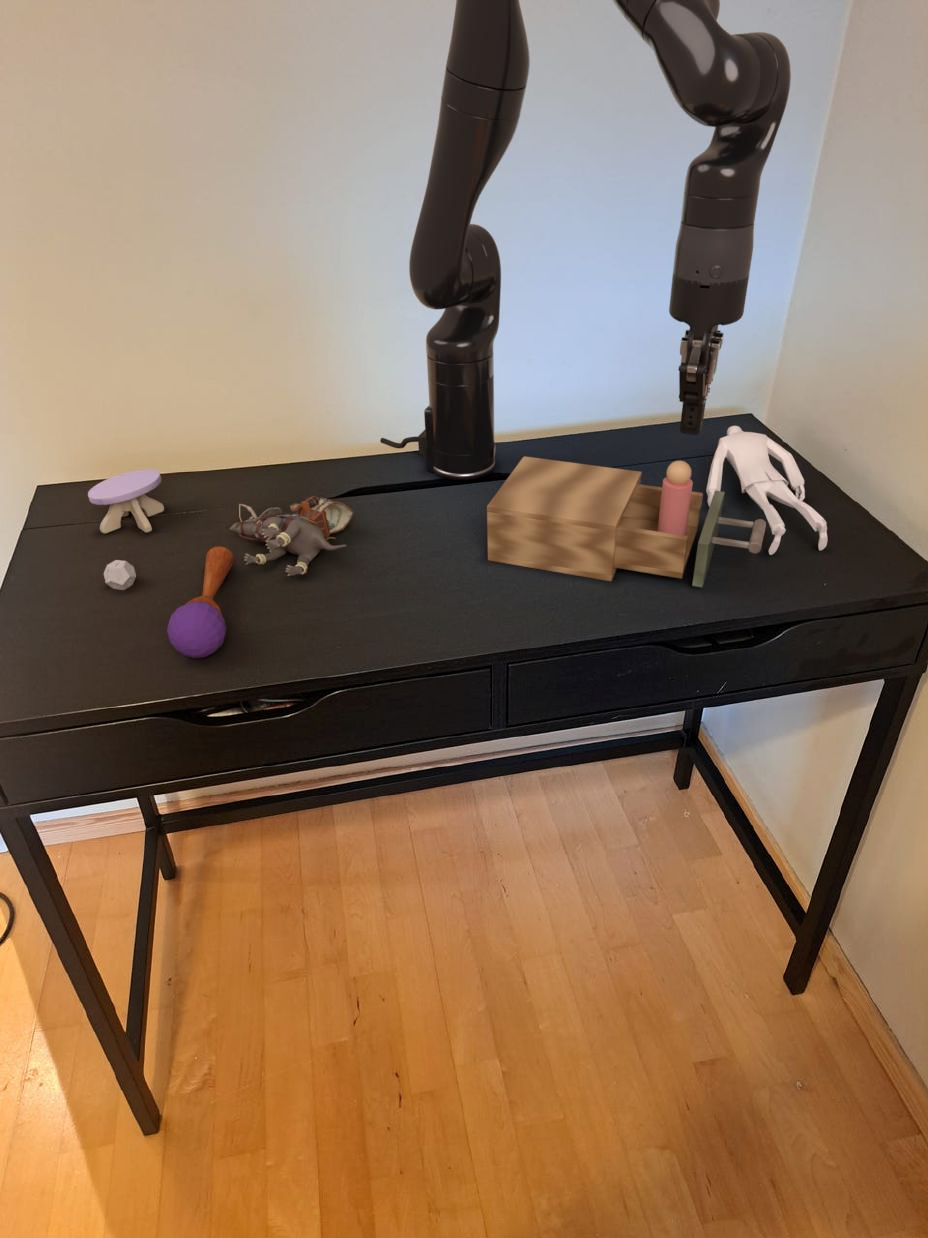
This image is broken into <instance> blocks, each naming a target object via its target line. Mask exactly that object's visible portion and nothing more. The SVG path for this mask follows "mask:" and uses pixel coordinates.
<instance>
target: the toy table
mask: <svg viewBox="0 0 928 1238" xmlns="http://www.w3.org/2000/svg"><path fill="white" fill-rule="evenodd" d="M161 483H162V475H161V472H160V471H159V470H157V469H151V468H150V469H149V468H145V469H135V470H131V471H127V472H123V473H119V474H116V475H114V476H111V477H109V478H107V479H104V480H102V481H100V482H98V483H97V484H95V485H94V486H92V487H91V488H90V489H89V490H88V492H87V497H88V500H89V502H90V503H91V504H93V505H97V506H106V505H109V507H108V511H107V513H106V514H105V516H104V517H103V519H102V520H101V522H100V525H99V530H100V532H101V533H102V534H108V533H110V532H113V531H116V530H118V529H121V527H122V524H121V522H122V518H125V517H128V516H129V515H130V513H131V514H132V516H133V518H134V520H135V522H136V525H137V528H138V529H140V530H141V531H142V532H144V533H151V532H152V531H153V527H152V525H151V523H150V521H149V519H148V517H152V516H155V515H158V514H160V513H163V512H164V511H165V507H164V504H163V503H162V502H160V501H158V500H156V499H154V498H152V497H149V496H148V495H147V493H150V492H151V491H153V490H154V489H155V488H157V487H158V486H159V485H161ZM129 512H130V513H129Z"/></svg>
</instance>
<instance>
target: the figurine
mask: <svg viewBox="0 0 928 1238" xmlns="http://www.w3.org/2000/svg"><path fill="white" fill-rule="evenodd" d="M241 507H244V508H245V509H247V511H248V512H250V514H251V516H249V518H248V519H246V520H242V518H241ZM289 509H290V512H283V510H282V509H281V508H280V507H270V508H267V509H266V510H264V511H263V512H262V513H261V514H260V515H259V516H258V515H257V514H256V512H255V511H254V509H253V508H252V506H249V505H247V504H245V503H244V504H243V503H238V511H239V513H238V515H239V520H240V521H239V522H235V523H233V524H232V525H231V526H230V528H229V531H232V532H234V533H237V535H239V536H240V537H242V538H243V539H247V540H253V541H261V542H263V543H264V542H265V543H266V544H265V546H266V549H268V553H265V554H263V553H257V554H256V555H255V556H253V555H250V554H249V553H244V554H245V556H243V558H244V559H243V561H245V562H246V563H245V565H253V564H257V565H264V564H265V563H266V562H272V561H275V560H277V559H279V558H281V557H283V556H285V555H286V553H287V552H288V553H290V554H292V555H298V556H297V560H296V564H295V565H294V566H293V565H290V564H288V565H286V568H285V573H288V574H287V577H293V576H296V575H305V574H307V570H308V566H309V565H310V563H311V562H312V560H313V559H314V558H315V557H316V556H318V554H319V552H321V550H324V551H329V552H332V551H337V550H339V549H342V548H346V547H347V544H339V545H333V544H330V541H328V540H329V539H332V540H336V539H337V538H336V537H335V536H330V535H332V534H337V533H339V532H341V531H344V529H346V527H347V526H348V525H349V523H350V521H351V520H352V518H353V516H354V511H353V510H352V509H351V508H350V506H348V505H347V504H345V503H344V502H340V501H337V500H334V501H333V500H332V499H327V498H325V497H322V496H321V497H318V496H317V495H311V496H309V497H308V498H307V499H305V500H302V501H301V502H300V503H296V502H295V503H293V504H291V505H290V506H289Z"/></svg>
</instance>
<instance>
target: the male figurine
mask: <svg viewBox="0 0 928 1238" xmlns="http://www.w3.org/2000/svg"><path fill="white" fill-rule="evenodd" d="M769 455H770V456H771V457H772V458H774V459H776V460H777V461H779V462H780V463H781V466H782V468H783V470H784V473H785V476H786V478H787V479H786V478H785V477H783V475H782V474H781V473H780V472H779V471H778V470H777V469H776V468H775V467H774V465H772V463H771V461H770V456H769ZM725 459H726V460H727V461H728V463H729V464H730V465H731V466H732V468H733V470H734V472H735V473H736V475H737V477H738V479H739V481H740V485H741V486H740V488H741V493H742V494H745V493H747V495H748V496H749V497H750V499H751V500H752V501H753V502H754V503H755V504H756V505H757V506H758V507H759V508H760V509H761V510H762V511H763V512H764V515H765V517H766V520H767V523H768V525H769V528H770V531H771V534H772V535H773V536H774V537H773V540H772V542H771V544H770V546H769V548H768V555H770V556H772V555H774V554H775V553H776V552H777V550H778V548H779V546H780V543H781V539H782V538H781V537H782V536H783V535H785V533H786V531H787V529H786V528H785V525H786V524H785V523H784V521H783V520H782V517H781V516H780V514H779V512H778V511H777V510H776V508H775V507H774V505H773V504H771V503H770V502H769V500H768V498H770V499H771V500H774V501H775V502H777V503H780V504H782V505H785V506H788V507H789V508H792V509H795V510H796V511H797V512H799V514H800V515H801V516H802V517H803V519H805V520H806V522H807V523H808V524H809V525H810V526H811V528H812V529H813V531H814V532H815V533H816V532H818V537H819V538H818V543H817V548H818V551H823V550H824V549H825V548H826V547H827V544H828V540H829V539H828V533H827V531H828V526H827V524H828V523H827V521H826V520H825V518H824V517H823V516H822V515H821V514H819V512H817V510H815V509H814V508H813V507H812V506H810V505H809V504H807V503H806V502H805V501H804V499H805V498H806V494H805V493H806V490H805V481H806V480H805V479H804V477H803V475H802V472H801V471H800V468H799V466H798V464H797V462H796V461H795V458H794V456H793V455H792V453H790V452H789V451H788V450H786V449H785V448H784V447H783V446H781V445H780V444H779V443H777V442H776V441H774V440H772V439H771V438H770V437H768V436H767V434H763V433H758V432H754V431H753V432H752V431H744V430H742V428H741V427H740V426H738V425H731V426H729V427H728V428H727V430H726V435H725V436H722V437H720V438H719V440H718V443H717V447H716V450H715V452H714V455H713V458H712V462H711V465H710V469H709V474H708V479H707V484H706V490H705V492H706V495H707V505H708V507H710V504H711V501H712V498H713V495H714V492H715V491H721V488H722V480H723V479H722V478H723V468H724V462H725ZM788 486H790V488H791V489H790V488H789V487H788ZM792 491H795V494H794V493H793V492H792Z"/></svg>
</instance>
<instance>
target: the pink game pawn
mask: <svg viewBox="0 0 928 1238" xmlns="http://www.w3.org/2000/svg"><path fill="white" fill-rule="evenodd" d="M691 477H692V468H691V466H690V464H688V463H687V462H686V461H684V460H675V461H673V462H671V463H670V464H669V465H668V466H667V469H666V477H664V478H663V479H662V485H661V487H662V494H661V503H660V512H659V522H658V531H657V532H664V533H670V534H677V535H684V536H686V531H687V523H688V516H689V508H690V501H691V493H692V492H693V491H692V490H693V485H694V483H693V482H694V481H693V480H692V479H691Z"/></svg>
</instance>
